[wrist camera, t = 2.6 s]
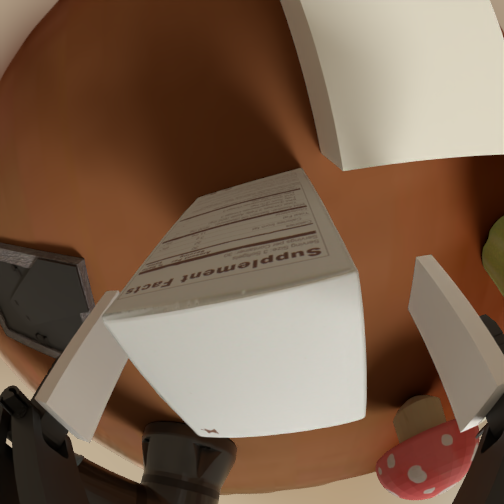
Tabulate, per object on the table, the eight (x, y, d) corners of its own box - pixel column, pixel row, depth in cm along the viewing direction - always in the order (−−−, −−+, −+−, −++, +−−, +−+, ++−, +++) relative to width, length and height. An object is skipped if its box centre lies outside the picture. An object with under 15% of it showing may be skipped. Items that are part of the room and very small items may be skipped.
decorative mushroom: (438, 409, 30) (461, 487, 17) (359, 430, 32) (370, 519, 19) (469, 355, 24) (512, 451, 11) (374, 381, 26) (399, 503, 13)
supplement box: (326, 263, 20) (368, 423, 9) (229, 284, 21) (194, 440, 10) (304, 163, 17) (368, 268, 6) (194, 193, 18) (91, 321, 7)
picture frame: (87, 255, 22) (-24, 235, 22) (75, 266, 20) (-34, 241, 20) (119, 370, 29) (11, 329, 29) (113, 382, 27) (4, 337, 28)
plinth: (320, 152, 17) (343, 171, 11) (274, -13, 11) (275, -59, 6) (467, 137, 15) (520, 153, 9) (432, -9, 9) (474, -31, 4)
